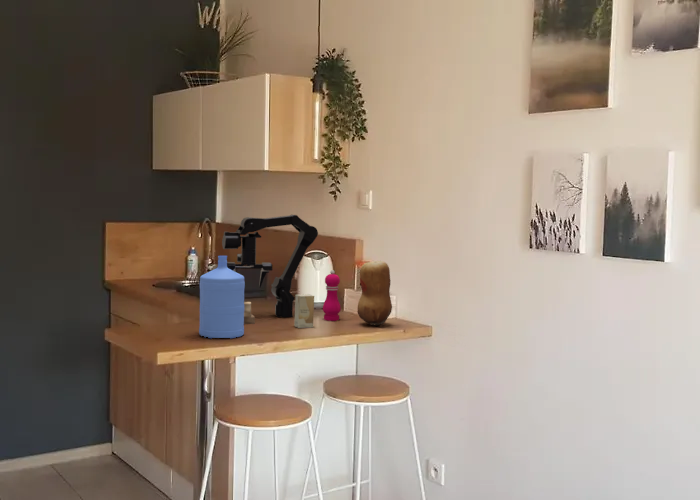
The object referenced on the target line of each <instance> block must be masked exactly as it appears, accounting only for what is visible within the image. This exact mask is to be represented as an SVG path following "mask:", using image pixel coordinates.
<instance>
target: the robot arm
mask: <svg viewBox="0 0 700 500" xmlns="http://www.w3.org/2000/svg"><path fill="white" fill-rule="evenodd" d="M290 225H291V226H292V227H293V228H294V229H295V230H296V231H297V232H298V235H297V236H298V237H297V242H296V245H295V247H294V250H293V252H292V253H291V256H290V258H289V260H288V263H287V264H286V266H285V267H284V269H283V272H282V274H281V275H280V276H279V277H277V276H275V278H274V279H273V282H272V283H271V285H270V286H271V289H270V291H271V293H272V295H273V296H274V297H275V299H276V304H274V305H275V310H274V313H275V316H276V317H277V318H293V317H294V314H293V306H294V302H295V298H296V296H294V295H293V294H292V293H291V292H290V291H291V288H292V281H293V278H294V277H295V273H296V271H298V268H299V266H300V263H301V262H302V259H303V257H304V256H305V253H306V251H307V249H308V248H309V247H311V245H312V244H313V243H314V241H315V240H316V239H317V237H318V235H319V232H318V229H317V227H315V226H313V225H310V224H308V223H307V222H306V221H304V220H303V219H301V217H300V216H298V215H297V214H290V215H282V216H273V217H266V218H263V217H249V216H247V217H244V218H242V220H241V222H240V225H239V227H238V228H237V229H236V231H235V232H233V231H231V232H230V231H224V232H223V236H222V240H221V241H222V242H221V245H222V249H223V250H238V249H239V247H241V253H237V255H236V261H237V263H235V261H233V262H232V261H227V267H228V268H229V269H231V270H233V271H235V272H236V269H237V270H238V269H246V270H247V269H249V270H250V269H251V270H252V269H253V270H255V269H256V270H257V269H259V270H260V269H261V270H260V277H259V285H258V288H259V289H261V287H262V284H263V283H264V282H263V281H264V279H265V277H266V275H267V274H268V273H270V271H273V264H272V262H270V261H269V262H265V261H264V262H261V263H257V262H256V260H257V238H258V239H261V238H262V235H260V234H259V232H258V231H261V230H263V229H266V228H273V227H281V226H290Z"/></svg>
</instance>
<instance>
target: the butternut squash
mask: <svg viewBox="0 0 700 500" xmlns="http://www.w3.org/2000/svg"><path fill="white" fill-rule="evenodd" d="M390 270H391V269H390V266H389V264H388V263H387V262H385V261H383V260H377V261H371V262H370V261H369V262H365V263H363V265H362V266H361V267H360V273H359V283H360V289H361V295H360V298H359V300H358V303H357V311H356V312H357V315H358V316H359V318H360V319H361V320H362V321H364V322H365V323H366V324H368V325H370V326H380V324H381V325H382V324H385V323H386V321H387V320H388V318H389V317H390V315H391V313H392V311H393V304H392V299H391V295H390V293H391V292H390V289H391V271H390Z"/></svg>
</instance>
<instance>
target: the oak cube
mask: <svg viewBox="0 0 700 500" xmlns="http://www.w3.org/2000/svg"><path fill="white" fill-rule="evenodd" d="M251 314H252V302H251V301H244V317H251Z"/></svg>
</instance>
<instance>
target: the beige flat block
mask: <svg viewBox="0 0 700 500" xmlns="http://www.w3.org/2000/svg"><path fill="white" fill-rule="evenodd" d="M255 323H256V316H255V315H253V314H252V313H251V317H244V325H255Z"/></svg>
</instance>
